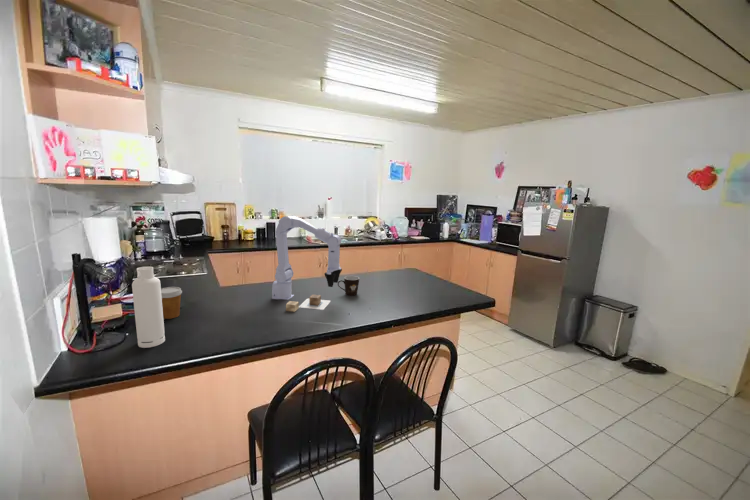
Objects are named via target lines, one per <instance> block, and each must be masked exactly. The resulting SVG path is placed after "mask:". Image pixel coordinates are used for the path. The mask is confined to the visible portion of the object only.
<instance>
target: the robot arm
mask: <svg viewBox="0 0 750 500" xmlns="http://www.w3.org/2000/svg"><path fill="white" fill-rule="evenodd" d="M297 228H301V229H303V230H305V231H307V232H309V233H311V234H313V235H314V238H316V239H318V240H319V241H322V242H323V243H325V244H327V246H328V250H327V251H328V253H327V259H328V260H327V267H326V268H327V269H326V272H324V277H325V278H326V281H327V287H330V288H333V286H334V283H336V284H338V282H339V278H340V275H341V272H342V271H343V269H342V266H341V264H340V258H341V257H340V251H341V249H340V248H341V247H340V246H341V243H342V238H341V236H340V235H338V233H337V234H334V233H333V232H331V231H328V230H326V228H325V227H318V228H317V227H315V226H314V224H313V225H312V224H311V223H309V222H308V221H306V220H304V219H302V218H301V217H299V216H297V215H295V214H294V215H292V214H291V215H285V216H283V217H281V218H280V219H279V220H278V223H277V227H276V228H275V239H276V240H275V241H276V250H277V263H278V265H277V266H276V268H275V274H274V279H275V280H274V281H273V282H272V285H271V290H272V291H271V295H272V297H271V300H288V301H290V299H292V298H293V297H294V296H295V294H292V278H293V277H294V270H293V268H292V265H291V263H290V259H289V248H288V247H289V246H288V235H287V234H288V233H290V231H291V230H292V229H297Z"/></svg>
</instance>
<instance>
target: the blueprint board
mask: <svg viewBox="0 0 750 500" xmlns="http://www.w3.org/2000/svg"><path fill="white" fill-rule="evenodd" d="M330 303H331V300H330V299H329V300H326V299H321V303H320V304H319V305H318V306H315V305H309V298H306V299H305V300H304V301H303V302H302V303H300V304H299V308H300V309H301V308H303V309H310V310H312V309H314V310H321V311H323V310H325V309H326V307H327V306H328V305H329V304H330Z"/></svg>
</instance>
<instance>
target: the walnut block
mask: <svg viewBox="0 0 750 500" xmlns="http://www.w3.org/2000/svg"><path fill="white" fill-rule="evenodd" d="M321 300H322V295H321V294H311V295H310V296H309V305H315V306H318V305H319V304H320V303H321Z"/></svg>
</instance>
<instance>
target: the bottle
mask: <svg viewBox="0 0 750 500" xmlns="http://www.w3.org/2000/svg"><path fill="white" fill-rule="evenodd" d="M136 272H137V273H136V274H137V276H136V277H137V278H135V279H134V280H133V281H132V283H131V289H132V290H131V291H132V299H133V301H132V302H133V310H134V321H135V327H136V330H135V331H136V338H137V346H138V347H139V348H143V349H145V348H153V347H157V346H159V345H161V344H163V343H164V342H166V336H165V323H164V322H165V321H164V320H165V319H164V318H163V308H162V296H161V289H162V286H161V280H160V278H158V277H157V276H155V273H154V267H153V266H140V267H137V268H136Z"/></svg>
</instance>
